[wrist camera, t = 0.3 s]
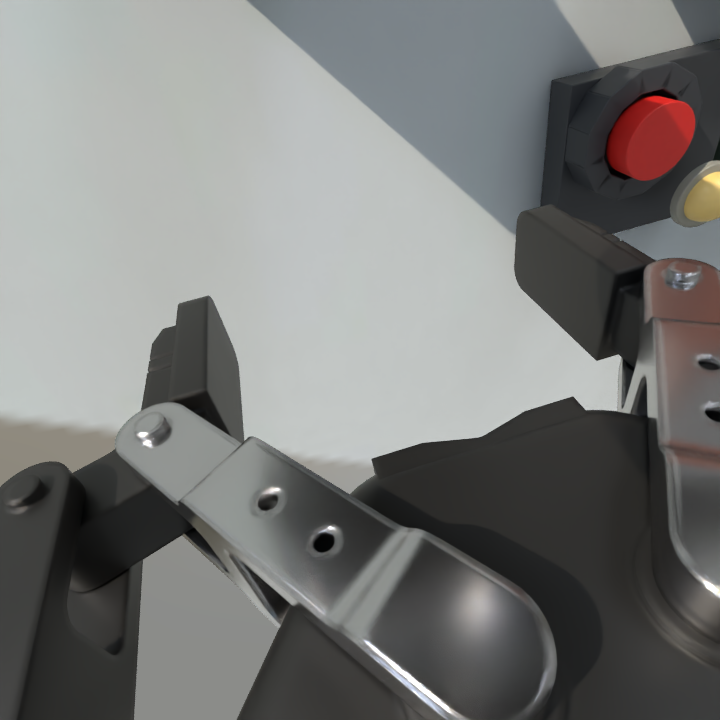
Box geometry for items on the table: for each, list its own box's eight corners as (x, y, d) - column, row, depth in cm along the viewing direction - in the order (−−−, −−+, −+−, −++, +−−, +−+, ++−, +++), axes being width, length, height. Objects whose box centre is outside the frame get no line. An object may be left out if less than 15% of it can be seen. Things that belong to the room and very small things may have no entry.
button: (612, 104, 25) (635, 111, 24) (679, 87, 25) (706, 92, 24) (600, 179, 28) (619, 188, 26) (661, 162, 28) (684, 171, 27)
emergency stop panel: (552, 71, 27) (595, 81, 24) (723, 29, 28) (787, 33, 25) (537, 238, 33) (570, 263, 30) (675, 200, 34) (721, 220, 31)
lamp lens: (668, 164, 29) (707, 179, 26) (726, 149, 29) (769, 162, 27) (652, 225, 31) (687, 244, 29) (706, 210, 32) (744, 227, 29)
